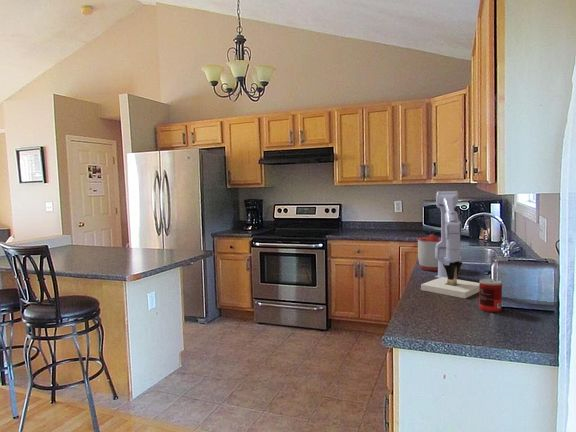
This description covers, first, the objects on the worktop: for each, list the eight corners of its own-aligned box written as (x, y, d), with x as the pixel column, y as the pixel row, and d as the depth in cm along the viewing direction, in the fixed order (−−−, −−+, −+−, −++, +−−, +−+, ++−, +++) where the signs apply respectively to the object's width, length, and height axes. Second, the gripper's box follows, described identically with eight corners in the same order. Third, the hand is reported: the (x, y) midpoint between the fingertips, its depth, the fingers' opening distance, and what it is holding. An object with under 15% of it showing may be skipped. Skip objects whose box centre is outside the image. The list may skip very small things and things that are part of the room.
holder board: (441, 281, 196) (441, 276, 196) (484, 289, 182) (484, 283, 182) (420, 289, 183) (420, 284, 183) (465, 298, 168) (465, 292, 168)
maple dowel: (449, 283, 185) (449, 266, 185) (458, 284, 182) (458, 267, 182) (445, 285, 182) (445, 267, 182) (454, 286, 179) (454, 268, 179)
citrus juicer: (449, 267, 230) (449, 232, 228) (444, 273, 215) (444, 236, 213) (421, 264, 238) (421, 231, 236) (414, 270, 223) (414, 234, 221)
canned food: (498, 307, 156) (499, 279, 155) (503, 313, 148) (504, 284, 148) (477, 305, 158) (477, 278, 157) (481, 312, 150) (481, 283, 150)
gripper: (450, 245, 189) (450, 274, 190) (437, 249, 178) (437, 280, 179) (466, 247, 184) (465, 276, 185) (453, 251, 173) (452, 282, 175)
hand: (452, 278), depth 182 cm, fingers closed on maple dowel, 4 cm apart
